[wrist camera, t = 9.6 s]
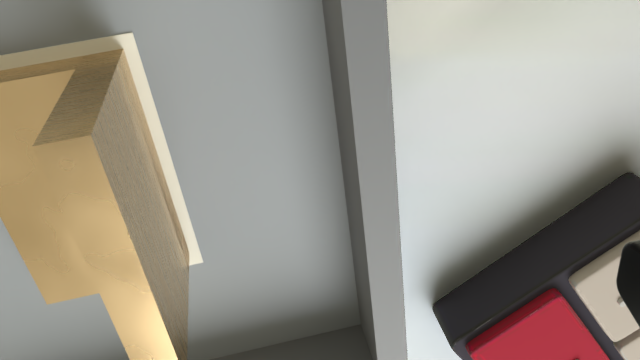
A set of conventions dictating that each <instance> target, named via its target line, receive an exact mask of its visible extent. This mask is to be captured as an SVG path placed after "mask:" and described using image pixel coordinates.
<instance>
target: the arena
mask: <svg viewBox="0 0 640 360" xmlns="http://www.w3.org/2000/svg"><path fill="white" fill-rule="evenodd" d="M118 49H124V52H125V55H126V58H127V61H128V64H129V68H130V71H131V74H132V77H133V80H134V83H135V86H136V89H137V92H138V95H139V98H140V102H141V105H142V108H143V111H144V114H145V117H146V120H147V123H148V126H149V129H150V132H151V136H152V139H153V142H154V145H155V148H156V151H157V154H158V157H159V160H160V163H161V166H162V170H163V173H164V176H165V179H166V182H167V185H168V188H169V191H170V194H171V197H172V200H173V204H174V207H175V210H176V213H177V216H178V219H179V222H180V225H181V228H182V231H183V234H184V238H185V241H186V244H187V247H188V250H189V299H188V345H187V360H407V343H406V326H405V309H404V292H403V275H402V258H401V241H400V224H399V207H398V190H397V173H396V156H395V139H394V122H393V105H392V89H391V72H390V55H389V38H388V21H387V4H386V0H0V71H1V70H7V69H12V68H18V67H23V66H29V65H34V64H40V63H46V62H51V61H57V60H62V59H68V58H73V57H79V56H85V55H90V54H96V53H101V52H107V51H112V50H118ZM0 360H130V359H129V357H128V355H127V352H126V350H125V348H124V346H123V344H122V342H121V339H120V337H119V335H118V333H117V331H116V328H115V326H114V324H113V322H112V320H111V318H110V315H109V313H108V311H107V309H106V307H105V304H104V302H103V300H102V298H101V296H100V294H99V293H98V294H94V295H89V296H84V297H80V298H75V299H71V300H66V301H62V302H57V303H53V304H48V305H47V304H46V302H45V300H44V298H43V296H42V294H41V292H40V291H39V289H38V287H37V285H36V283H35V281H34V279H33V278H32V276H31V274H30V272H29V270H28V268H27V266H26V264H25V263H24V261H23V259H22V257H21V255H20V253H19V251H18V249H17V248H16V246H15V244H14V242H13V240H12V238H11V236H10V235H9V233H8V231H7V229H6V227H5V225H4V223H3V221H2V220H1V218H0Z"/></svg>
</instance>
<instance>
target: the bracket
mask: <svg viewBox="0 0 640 360" xmlns="http://www.w3.org/2000/svg"><path fill="white" fill-rule="evenodd" d="M0 218H1V220H2V221H3V223H4V225H5V227H6V229H7V231H8V233H9V235H10V236H11V238H12V240H13V242H14V244H15V246H16V248H17V249H18V251H19V253H20V255H21V257H22V259H23V261H24V263H25V264H26V266H27V268H28V270H29V272H30V274H31V276H32V278H33V279H34V281H35V283H36V285H37V287H38V289H39V291H40V292H41V294H42V296H43V298H44V300H45V302H46V304H47V305H48V304H53V303H57V302H62V301H66V300H71V299H75V298H80V297H84V296H89V295H94V294H98V293H99V294H100V296H101V298H102V300H103V302H104V304H105V307H106V309H107V311H108V313H109V315H110V318H111V320H112V322H113V324H114V326H115V328H116V331H117V333H118V335H119V337H120V339H121V342H122V344H123V346H124V348H125V350H126V352H127V355H128V357H129V359H130V360H187V345H188V299H189V250H188V247H187V244H186V241H185V238H184V234H183V231H182V228H181V225H180V222H179V219H178V216H177V213H176V210H175V207H174V204H173V200H172V197H171V194H170V191H169V188H168V185H167V182H166V179H165V176H164V173H163V170H162V166H161V163H160V160H159V157H158V154H157V151H156V148H155V145H154V142H153V139H152V136H151V132H150V129H149V126H148V123H147V120H146V117H145V114H144V111H143V108H142V105H141V102H140V98H139V95H138V92H137V89H136V86H135V83H134V80H133V77H132V74H131V71H130V68H129V64H128V61H127V58H126V55H125V52H124V49H118V50H112V51H107V52H101V53H96V54H90V55H85V56H79V57H73V58H68V59H62V60H57V61H51V62H46V63H40V64H34V65H29V66H23V67H18V68H12V69H7V70H1V71H0Z"/></svg>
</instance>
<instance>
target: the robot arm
mask: <svg viewBox="0 0 640 360" xmlns="http://www.w3.org/2000/svg"><path fill="white" fill-rule="evenodd" d="M616 284H617V289H618V292H619V294H620V296H621V298H622V299H623V301H624V303H625V304H626V306H627V308H628V309H629V311H630V313H631V314H632V316H633V318H634V319H635V321H636V323H637V324H638V326H639V328H640V240H635V241H631V242H628V243H626V244H625V245H624V247H623V249H622V252H621V258H620V263H619V268H618V273H617V278H616Z"/></svg>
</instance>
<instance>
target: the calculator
mask: <svg viewBox="0 0 640 360" xmlns="http://www.w3.org/2000/svg"><path fill="white" fill-rule="evenodd" d="M635 240H640V178H639V177H638V176H636V175H635V174H633V173H626V174H624V175H622V176H620V177H619V178H617V179H616V180H615V181H613V182H612V183H610V184H609V185H607V186H606V187H604V188H603V189H601V190H600V191H598V192H597V193H595V194H594V195H593V196H591V197H590V198H588V199H587V200H585V201H584V202H582V203H581V204H579V205H578V206H576V207H575V208H573V209H572V210H570V211H569V212H568V213H566V214H565V215H563V216H562V217H560V218H559V219H557V220H556V221H554V222H553V223H551V224H550V225H548V226H547V227H546V228H544V229H543V230H541V231H540V232H538V233H537V234H535V235H534V236H532V237H531V238H529V239H528V240H526V241H525V242H524V243H522V244H521V245H519V246H518V247H516V248H515V249H513V250H512V251H510V252H509V253H507V254H506V255H504V256H503V257H502V258H500V259H499V260H497V261H496V262H494V263H493V264H491V265H490V266H488V267H487V268H485V269H484V270H482V271H481V272H480V273H478V274H477V275H475V276H474V277H472V278H471V279H469V280H468V281H466V282H465V283H463V284H462V285H460V286H459V287H458V288H456V289H455V290H453V291H452V292H450V293H449V294H447V295H446V296H444V297H443V298H441V299H440V300H439V301H437V302H436V303H435V304H434V305H433V312H434V314H435V316H436V318H437V320H438V322H439V324H440V326H441V328H442V330H443V332H444V334H445V336H446V338H447V340H448V342H449V344H450V346H451V348H452V349H453V351H454V352H455V353H456V354H457V355H458V356H459V357H460V358H461V359H462V360H640V328H639V326H638V324H637V323H636V321H635V319H634V318H633V316H632V314H631V313H630V311H629V309H628V308H627V306H626V304H625V303H624V301H623V299H622V298H621V296H620V294H619V292H618V289H617V284H616V278H617V273H618V268H619V263H620V258H621V252H622V249H623V247H624V245H625V244H626V243H628V242H631V241H635Z"/></svg>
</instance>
